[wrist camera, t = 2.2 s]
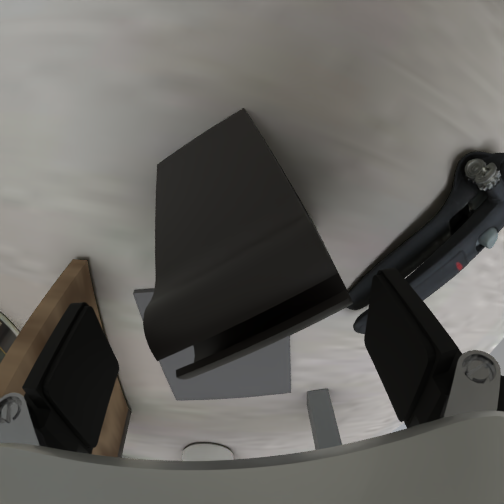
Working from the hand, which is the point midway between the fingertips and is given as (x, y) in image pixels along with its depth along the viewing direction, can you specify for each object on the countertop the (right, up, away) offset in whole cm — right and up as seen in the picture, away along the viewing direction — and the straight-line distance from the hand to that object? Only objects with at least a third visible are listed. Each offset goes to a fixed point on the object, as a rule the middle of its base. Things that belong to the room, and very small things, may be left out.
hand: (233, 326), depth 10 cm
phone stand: (0, +6, +9) cm, 11 cm away
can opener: (+14, +4, +11) cm, 18 cm away
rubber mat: (-2, -6, +15) cm, 16 cm away
